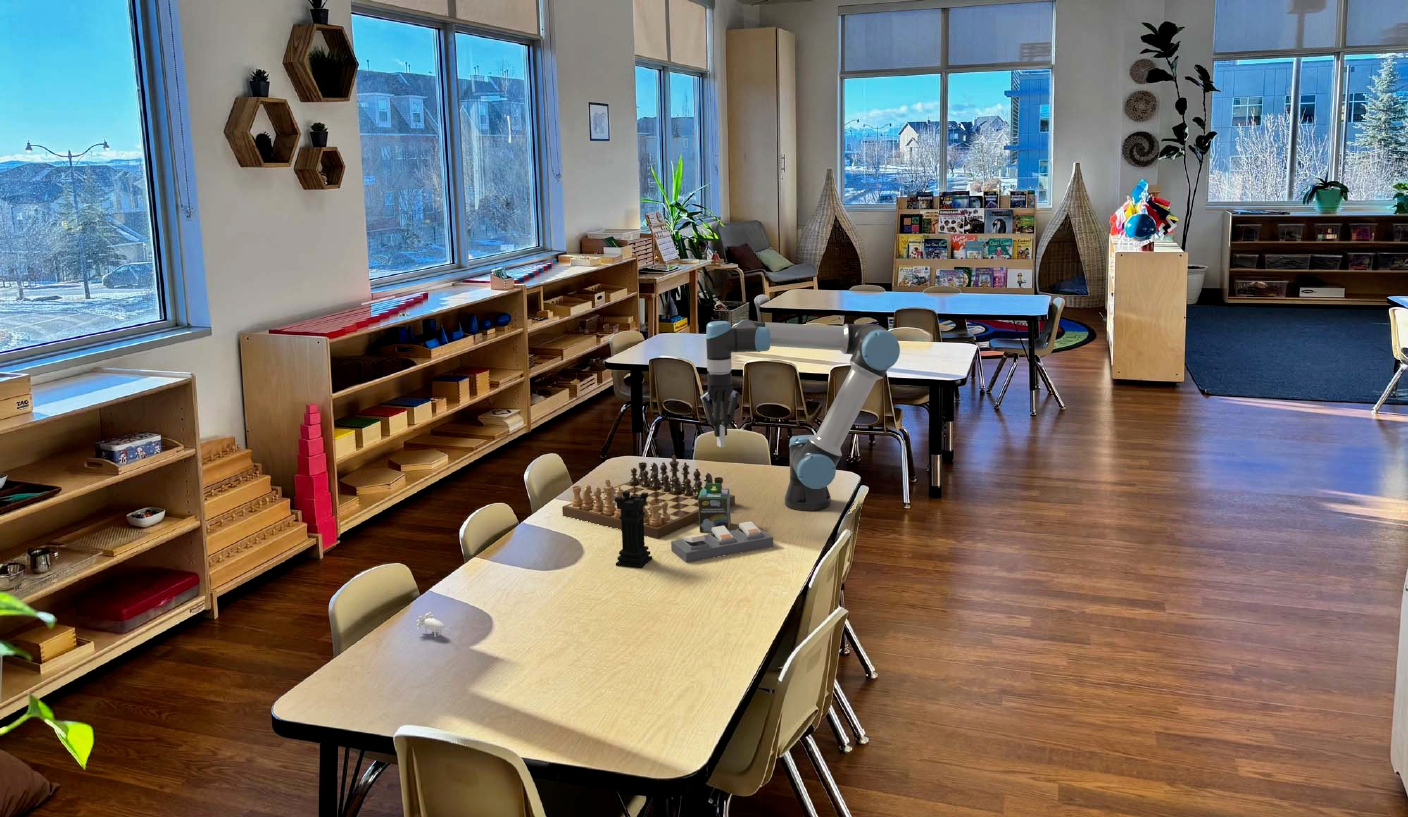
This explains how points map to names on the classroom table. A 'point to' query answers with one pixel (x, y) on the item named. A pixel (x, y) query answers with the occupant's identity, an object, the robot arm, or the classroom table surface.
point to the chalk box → (714, 507)
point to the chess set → (665, 501)
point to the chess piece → (632, 531)
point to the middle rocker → (722, 533)
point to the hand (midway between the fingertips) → (721, 446)
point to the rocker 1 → (694, 538)
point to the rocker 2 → (749, 528)
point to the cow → (430, 623)
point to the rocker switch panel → (720, 545)
